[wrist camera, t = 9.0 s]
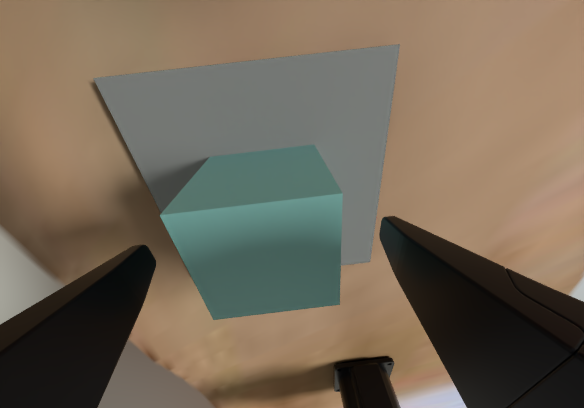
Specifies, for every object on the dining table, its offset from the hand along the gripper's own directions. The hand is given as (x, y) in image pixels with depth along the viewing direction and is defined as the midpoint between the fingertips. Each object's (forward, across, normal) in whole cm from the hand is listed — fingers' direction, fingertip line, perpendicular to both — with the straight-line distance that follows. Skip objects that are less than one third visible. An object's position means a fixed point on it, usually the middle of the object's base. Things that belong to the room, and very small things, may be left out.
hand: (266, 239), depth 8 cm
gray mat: (+4, 0, 0) cm, 4 cm away
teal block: (+4, 0, 0) cm, 4 cm away
